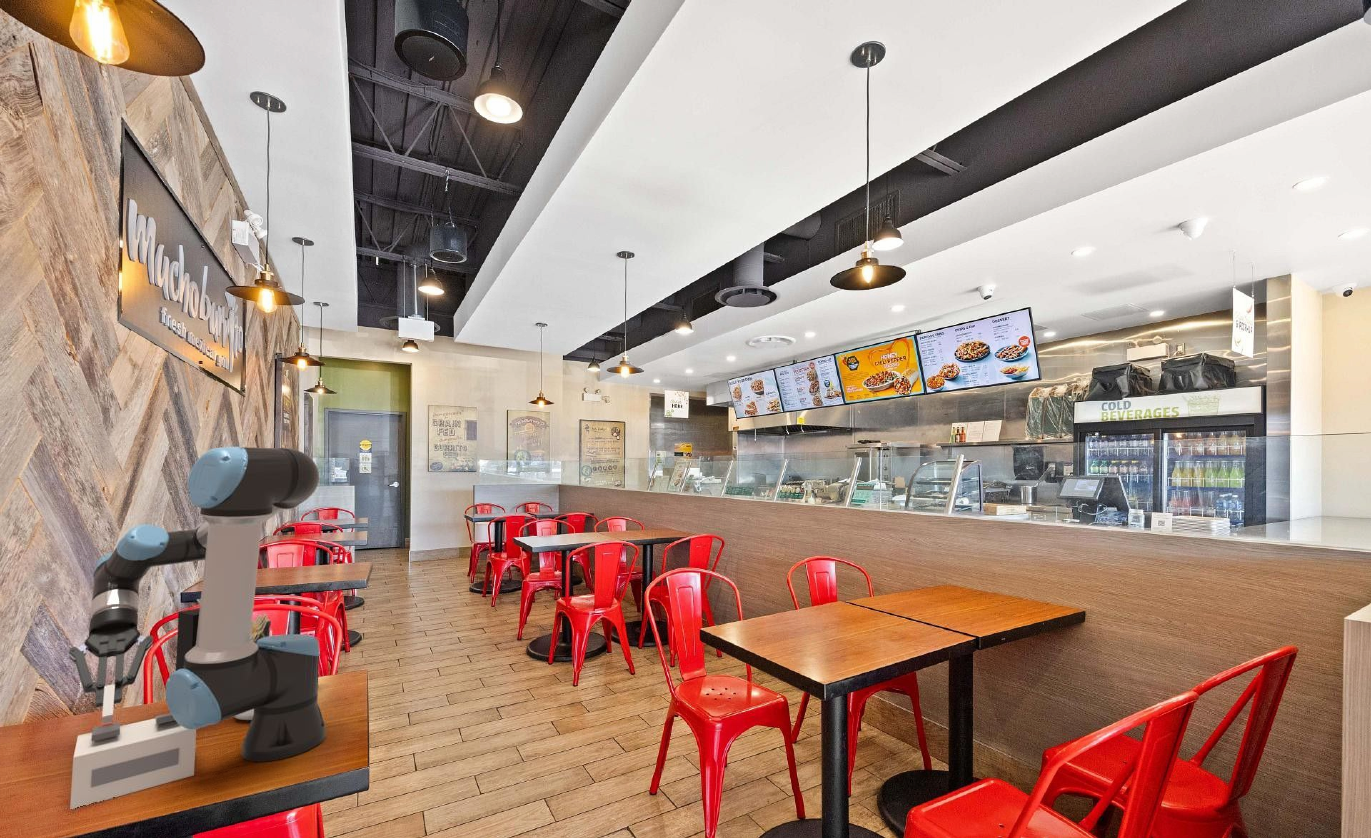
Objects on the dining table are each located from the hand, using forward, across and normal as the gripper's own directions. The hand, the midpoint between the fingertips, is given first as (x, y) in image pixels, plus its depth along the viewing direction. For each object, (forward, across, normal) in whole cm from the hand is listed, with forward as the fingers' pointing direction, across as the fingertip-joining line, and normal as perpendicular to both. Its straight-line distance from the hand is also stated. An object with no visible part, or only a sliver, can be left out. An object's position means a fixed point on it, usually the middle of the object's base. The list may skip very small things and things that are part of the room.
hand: (107, 719), depth 115 cm
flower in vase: (-3, -27, -20) cm, 34 cm away
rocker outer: (+3, 0, +1) cm, 3 cm away
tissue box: (-13, -16, -30) cm, 37 cm away
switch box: (+10, -4, -7) cm, 13 cm away
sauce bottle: (-13, -28, -30) cm, 43 cm away
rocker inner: (+3, -9, +1) cm, 9 cm away
